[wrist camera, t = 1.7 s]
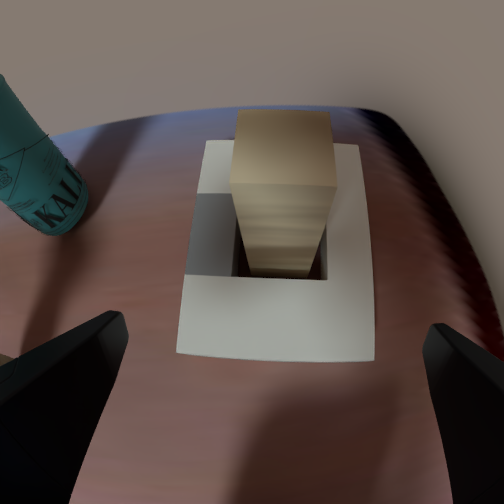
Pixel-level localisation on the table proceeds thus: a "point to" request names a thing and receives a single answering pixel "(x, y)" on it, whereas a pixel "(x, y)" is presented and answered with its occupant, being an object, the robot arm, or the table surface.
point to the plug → (282, 187)
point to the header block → (278, 290)
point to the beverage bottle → (36, 172)
